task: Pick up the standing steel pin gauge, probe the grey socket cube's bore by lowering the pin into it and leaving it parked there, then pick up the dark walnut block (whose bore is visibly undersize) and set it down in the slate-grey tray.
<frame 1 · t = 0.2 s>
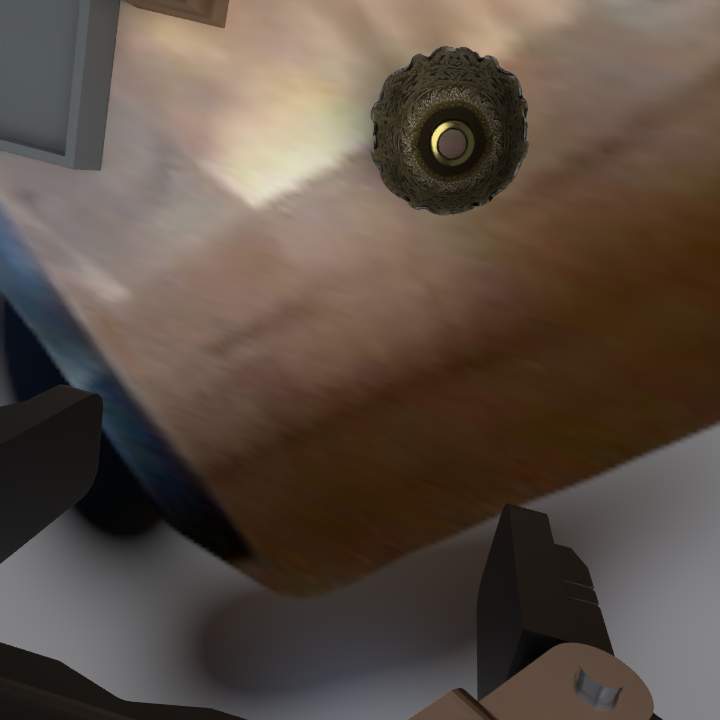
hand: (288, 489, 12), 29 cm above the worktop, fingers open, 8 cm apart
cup: (452, 144, 38), on the worktop
tray: (15, 37, 40), on the worktop
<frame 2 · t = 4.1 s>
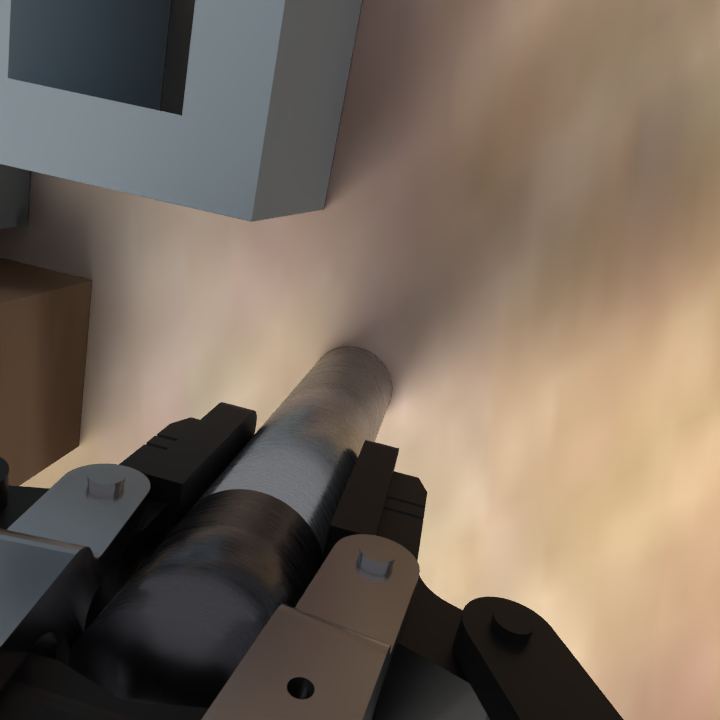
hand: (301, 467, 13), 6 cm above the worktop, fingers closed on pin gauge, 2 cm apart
grey socket cube: (227, 57, 17), on the worktop
walnut block: (6, 345, 20), on the worktop
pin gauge: (350, 386, 19), on the worktop, touching gripper
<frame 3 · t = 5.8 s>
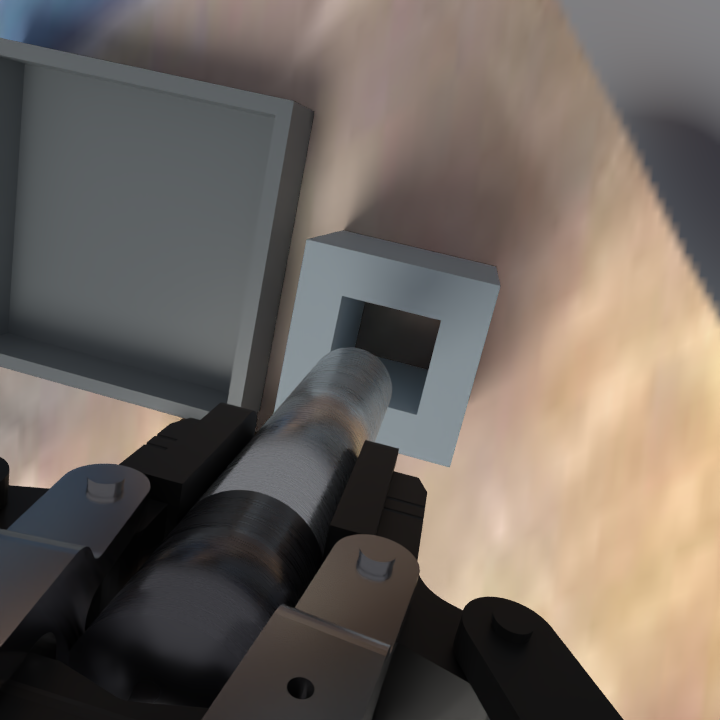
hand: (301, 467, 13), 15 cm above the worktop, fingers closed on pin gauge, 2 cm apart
grey socket cube: (400, 322, 28), on the worktop
tray: (144, 235, 29), on the worktop
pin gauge: (350, 387, 19), point 9 cm above the worktop, touching gripper
when the fingers open (7 cm above the worktop, at t = 7.7 s): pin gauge drops 2 cm, resting in grey socket cube.
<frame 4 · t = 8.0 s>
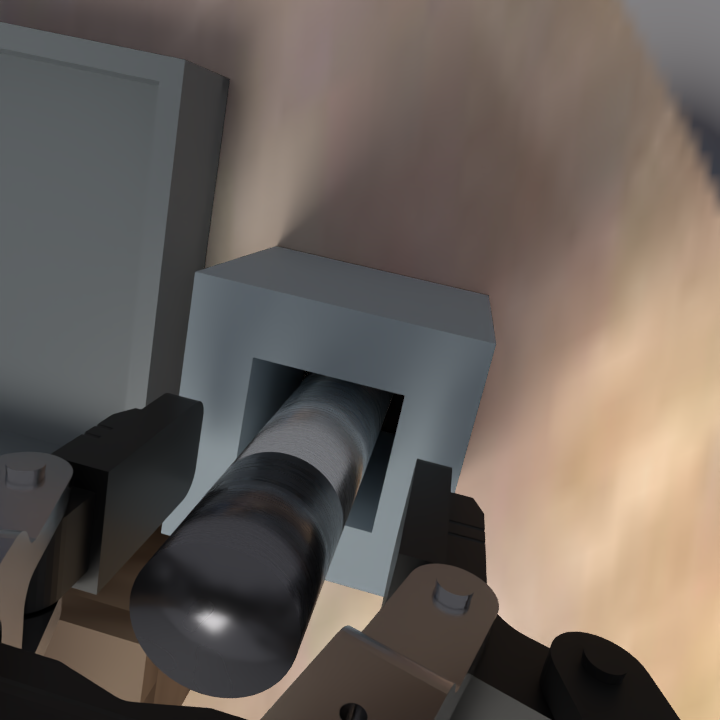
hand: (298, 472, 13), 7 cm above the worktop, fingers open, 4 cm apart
grey socket cube: (358, 372, 20), on the worktop
walnut block: (148, 573, 24), on the worktop
tray: (9, 254, 21), on the worktop
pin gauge: (360, 373, 20), resting in grey socket cube
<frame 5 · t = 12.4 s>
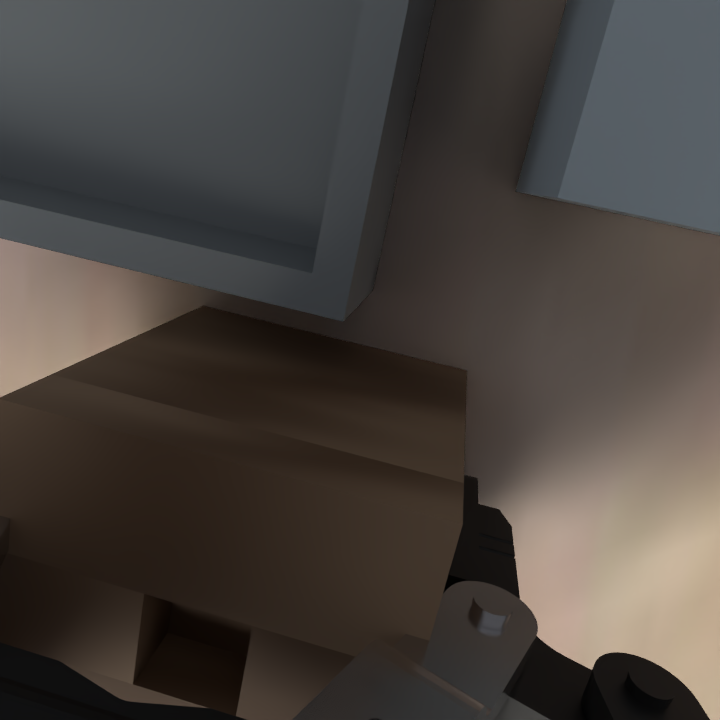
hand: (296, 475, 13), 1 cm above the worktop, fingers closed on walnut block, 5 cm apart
walnut block: (307, 459, 14), on the worktop, touching gripper
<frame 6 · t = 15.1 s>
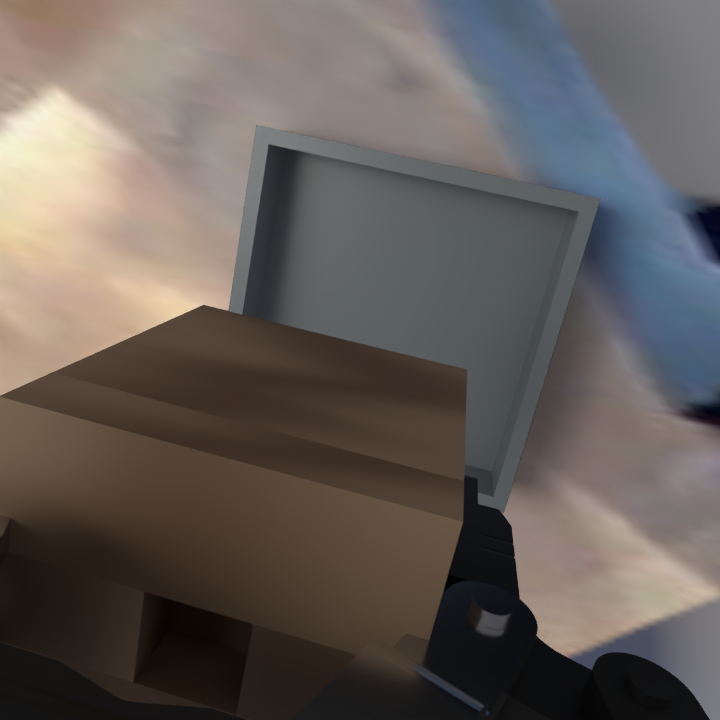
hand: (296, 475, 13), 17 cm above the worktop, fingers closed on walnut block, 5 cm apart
walnut block: (308, 458, 14), point 16 cm above the worktop, touching gripper
tray: (394, 313, 29), on the worktop
when the fingers open (3 cm above the worktop, at t = 18.1 s): walnut block drops 1 cm, resting on tray.
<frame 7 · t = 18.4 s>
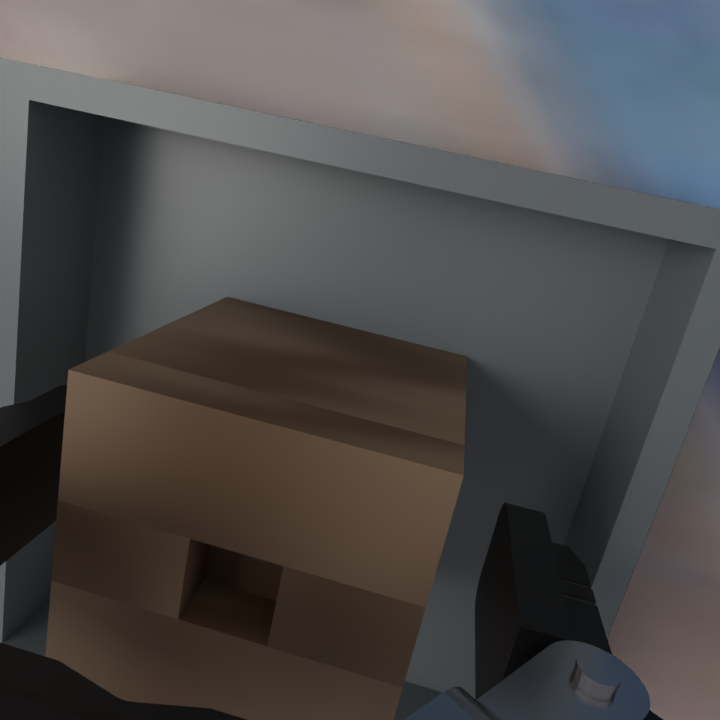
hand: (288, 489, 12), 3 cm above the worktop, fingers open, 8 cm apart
walnut block: (321, 437, 15), resting on tray
tray: (325, 427, 15), on the worktop
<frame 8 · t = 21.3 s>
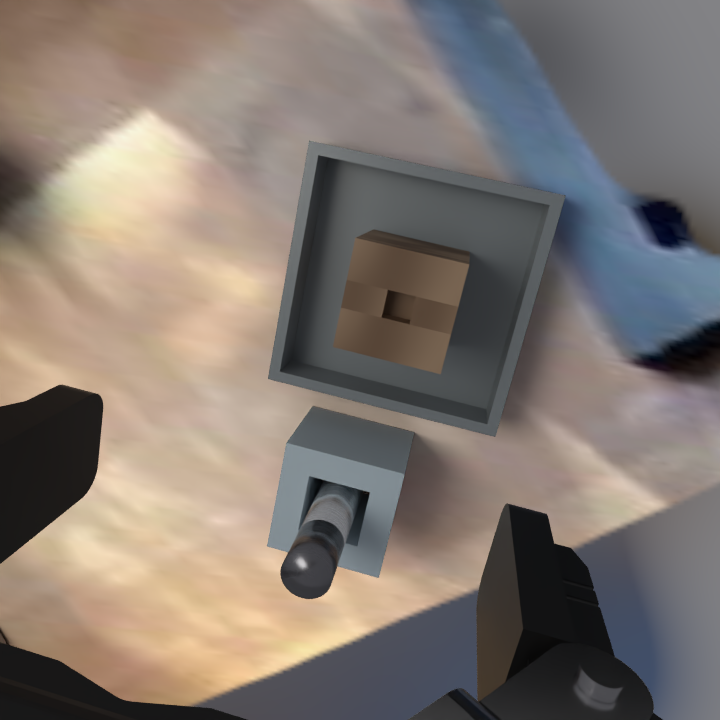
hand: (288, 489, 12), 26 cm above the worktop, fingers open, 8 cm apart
grey socket cube: (352, 465, 41), on the worktop
walnut block: (410, 288, 37), resting on tray
tray: (410, 285, 37), on the worktop
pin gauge: (352, 466, 41), resting in grey socket cube
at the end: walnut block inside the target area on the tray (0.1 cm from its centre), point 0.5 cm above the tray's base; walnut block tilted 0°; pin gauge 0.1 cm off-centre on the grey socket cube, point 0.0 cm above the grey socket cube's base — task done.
